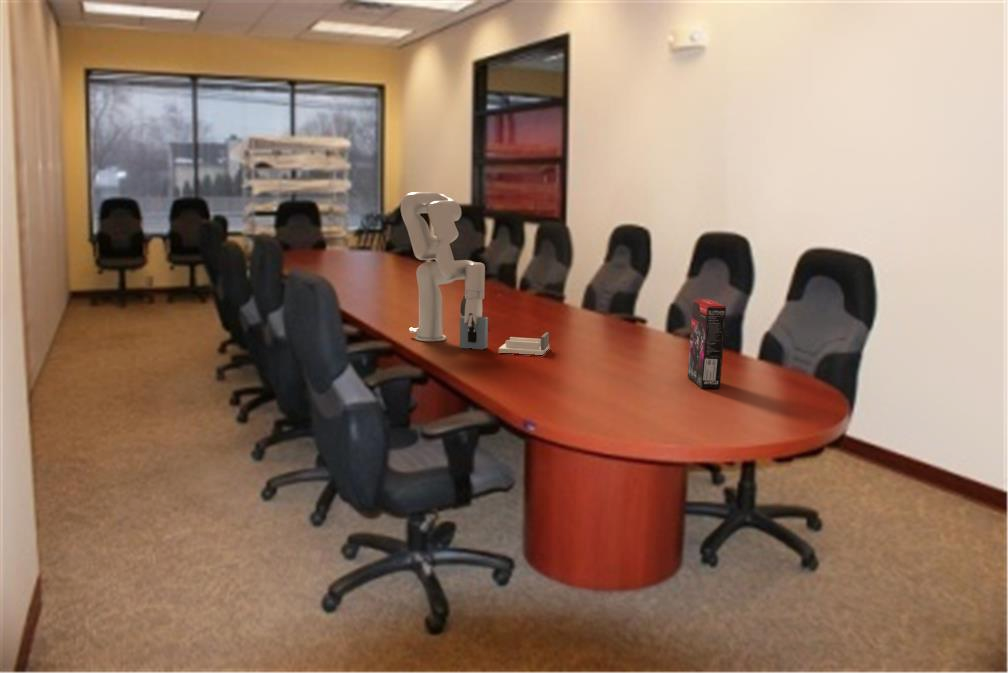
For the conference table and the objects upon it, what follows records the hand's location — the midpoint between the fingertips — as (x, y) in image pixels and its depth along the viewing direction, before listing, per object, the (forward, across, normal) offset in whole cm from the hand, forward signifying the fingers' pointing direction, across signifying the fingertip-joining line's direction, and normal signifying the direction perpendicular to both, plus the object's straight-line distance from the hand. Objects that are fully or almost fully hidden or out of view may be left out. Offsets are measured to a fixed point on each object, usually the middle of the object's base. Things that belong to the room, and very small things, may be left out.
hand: (473, 340), depth 347 cm
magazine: (+4, -58, -17) cm, 60 cm away
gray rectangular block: (+3, 0, 0) cm, 3 cm away
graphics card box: (+2, +34, +88) cm, 95 cm away
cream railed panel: (+3, 0, +20) cm, 20 cm away
